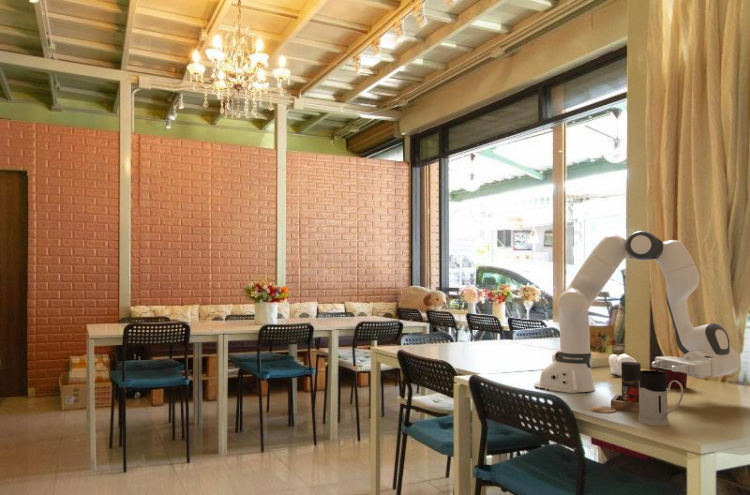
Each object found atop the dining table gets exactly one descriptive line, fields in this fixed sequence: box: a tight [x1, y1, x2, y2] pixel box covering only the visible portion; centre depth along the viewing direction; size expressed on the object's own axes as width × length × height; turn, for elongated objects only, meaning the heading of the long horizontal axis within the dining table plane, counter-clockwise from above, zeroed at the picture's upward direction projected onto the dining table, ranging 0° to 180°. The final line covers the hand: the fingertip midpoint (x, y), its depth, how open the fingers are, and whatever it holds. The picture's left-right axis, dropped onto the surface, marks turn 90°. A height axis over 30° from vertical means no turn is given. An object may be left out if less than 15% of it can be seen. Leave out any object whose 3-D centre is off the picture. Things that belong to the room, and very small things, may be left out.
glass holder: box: [637, 369, 684, 426], centre depth 180 cm, size 9×14×15 cm, turn 28°
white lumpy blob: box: [608, 353, 638, 378], centre depth 260 cm, size 11×12×9 cm
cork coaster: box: [589, 405, 616, 414], centre depth 196 cm, size 8×8×1 cm
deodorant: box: [621, 361, 642, 403], centre depth 199 cm, size 6×6×15 cm
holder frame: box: [610, 393, 639, 414], centre depth 199 cm, size 11×11×3 cm
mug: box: [654, 367, 688, 390], centre depth 234 cm, size 12×9×11 cm
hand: (662, 366), depth 202 cm, fingers open, 8 cm apart
